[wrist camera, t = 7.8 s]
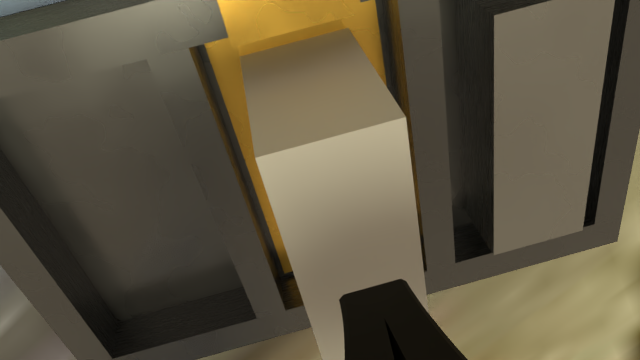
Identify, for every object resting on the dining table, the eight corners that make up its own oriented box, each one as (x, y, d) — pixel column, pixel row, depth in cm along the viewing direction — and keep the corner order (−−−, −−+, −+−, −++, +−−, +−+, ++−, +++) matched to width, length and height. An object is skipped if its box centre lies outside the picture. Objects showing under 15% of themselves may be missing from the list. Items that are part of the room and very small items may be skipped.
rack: (584, 207, 21) (631, 257, 18) (107, 340, 20) (95, 407, 18) (634, -148, 13) (720, -137, 11) (-108, 44, 13) (-172, 95, 11)
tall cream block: (384, 239, 19) (433, 357, 15) (303, 262, 19) (331, 386, 15) (348, 27, 14) (405, 117, 10) (239, 56, 14) (254, 157, 10)
